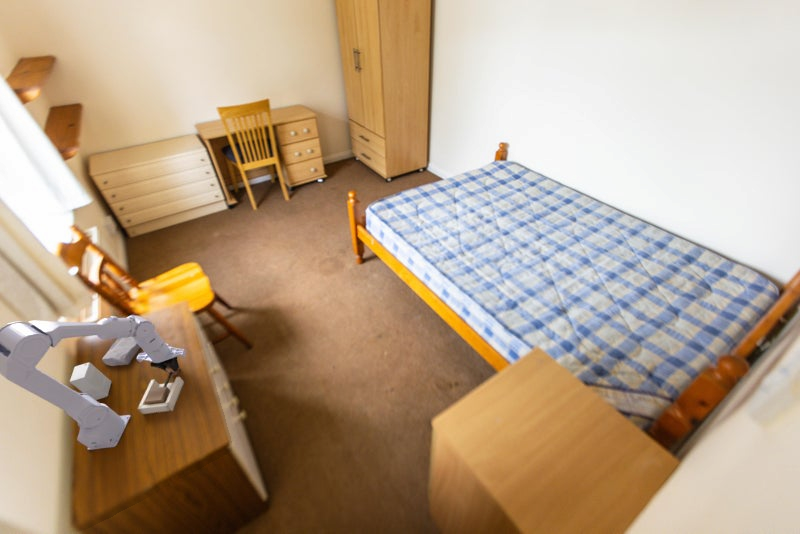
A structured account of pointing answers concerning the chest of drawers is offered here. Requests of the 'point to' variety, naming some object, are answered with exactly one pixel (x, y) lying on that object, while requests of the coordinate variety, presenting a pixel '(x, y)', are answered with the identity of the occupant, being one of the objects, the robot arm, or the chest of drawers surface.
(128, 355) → the stone block
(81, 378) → the skincare box
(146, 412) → the tray
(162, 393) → the corded block
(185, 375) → the chest of drawers surface
